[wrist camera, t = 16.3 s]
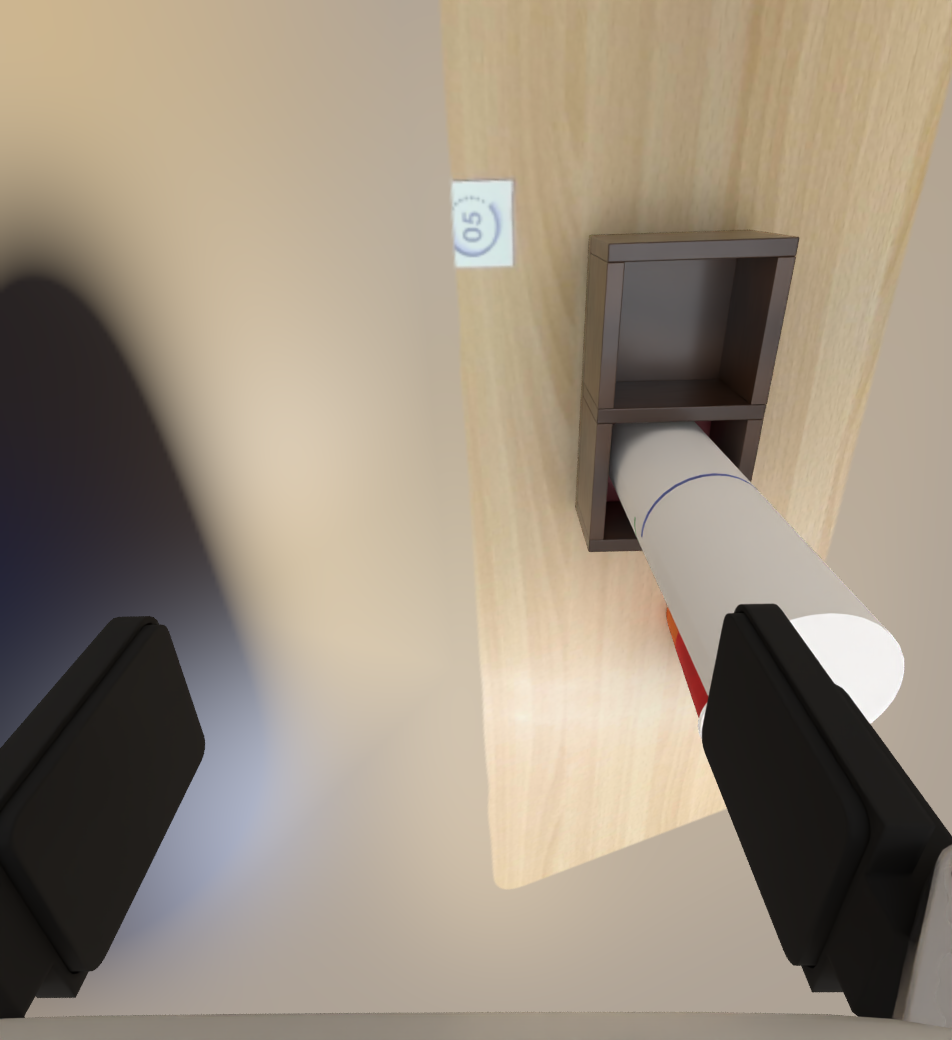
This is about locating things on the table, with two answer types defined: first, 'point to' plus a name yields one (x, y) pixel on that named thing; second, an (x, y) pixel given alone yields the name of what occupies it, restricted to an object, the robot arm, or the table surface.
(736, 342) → the wooden compartment box
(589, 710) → the table surface
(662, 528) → the cylindrical container
